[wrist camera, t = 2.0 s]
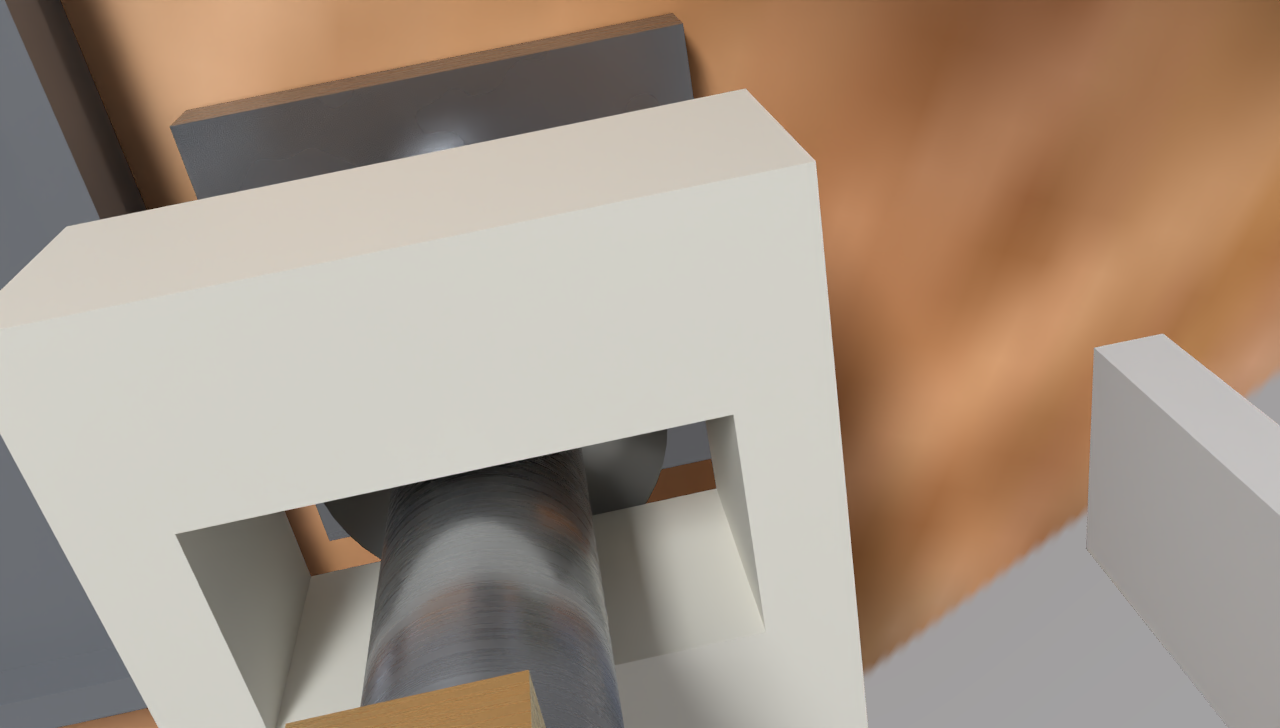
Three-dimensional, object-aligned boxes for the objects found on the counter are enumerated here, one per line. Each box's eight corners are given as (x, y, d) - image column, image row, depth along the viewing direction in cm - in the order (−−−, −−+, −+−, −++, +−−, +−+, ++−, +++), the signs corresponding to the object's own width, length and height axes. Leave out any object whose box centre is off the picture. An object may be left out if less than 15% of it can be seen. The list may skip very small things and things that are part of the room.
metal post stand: (335, 510, 21) (127, 1472, 9) (185, 110, 17) (-555, 826, 5) (734, 424, 21) (1068, 1241, 9) (672, 13, 17) (1106, 463, 5)
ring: (327, 801, 17) (297, 985, 14) (66, 226, 12) (-50, 339, 10) (818, 690, 17) (879, 851, 14) (745, 88, 12) (815, 160, 10)
